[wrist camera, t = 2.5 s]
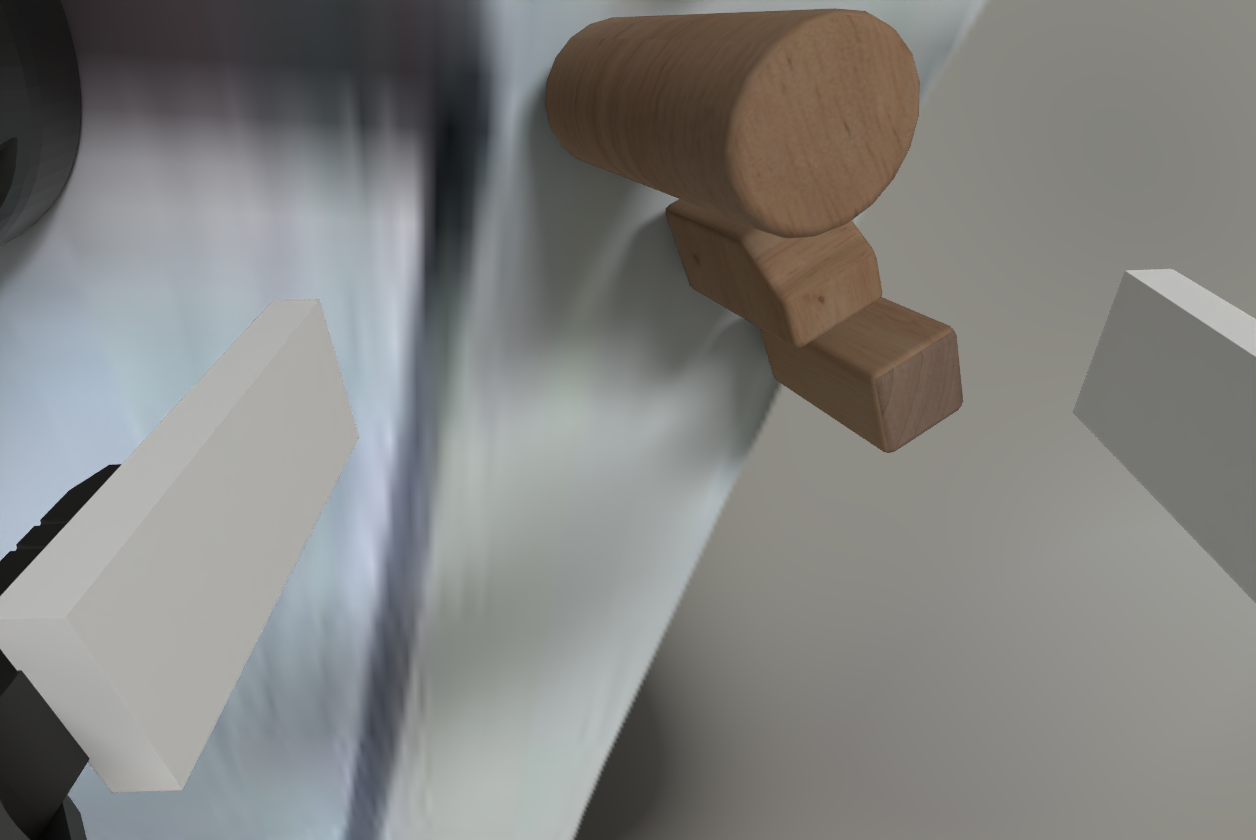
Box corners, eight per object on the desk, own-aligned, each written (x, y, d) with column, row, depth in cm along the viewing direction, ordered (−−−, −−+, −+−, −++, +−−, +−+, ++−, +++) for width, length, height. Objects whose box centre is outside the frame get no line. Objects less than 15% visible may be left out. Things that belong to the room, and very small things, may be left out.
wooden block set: (848, 304, 29) (1087, 413, 21) (665, 414, 27) (842, 579, 19) (732, -290, 19) (1114, -549, 10) (428, -162, 17) (590, -341, 9)
